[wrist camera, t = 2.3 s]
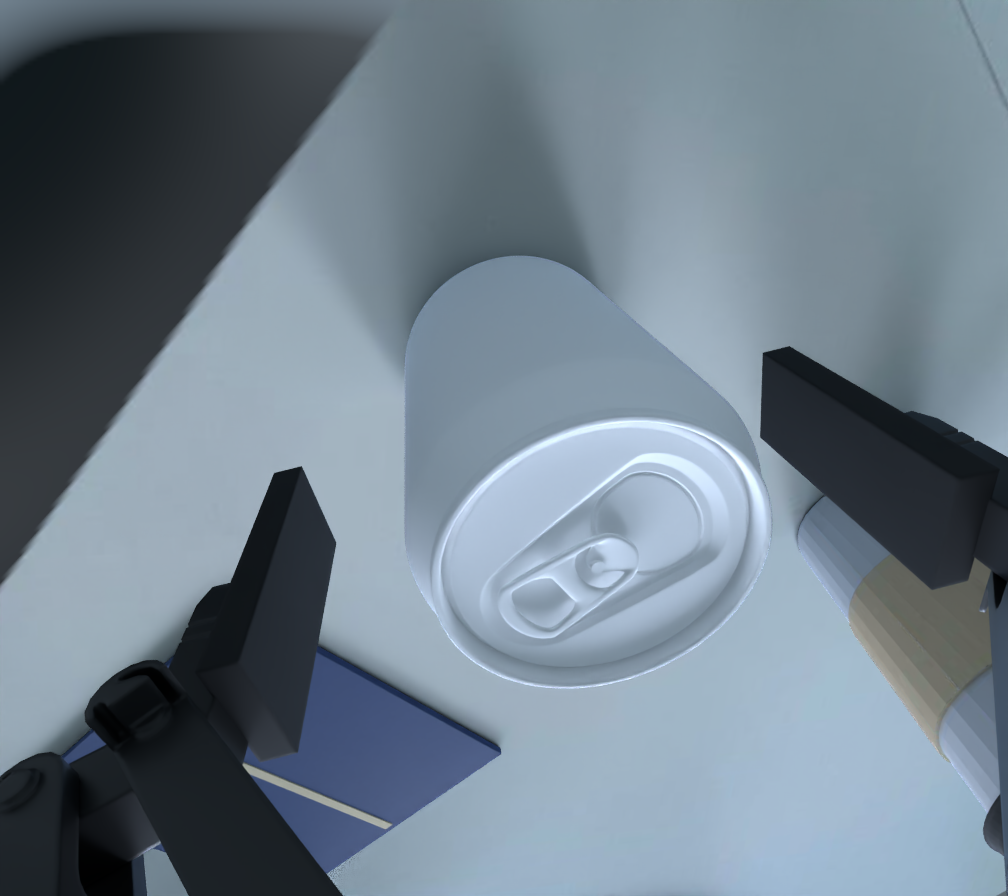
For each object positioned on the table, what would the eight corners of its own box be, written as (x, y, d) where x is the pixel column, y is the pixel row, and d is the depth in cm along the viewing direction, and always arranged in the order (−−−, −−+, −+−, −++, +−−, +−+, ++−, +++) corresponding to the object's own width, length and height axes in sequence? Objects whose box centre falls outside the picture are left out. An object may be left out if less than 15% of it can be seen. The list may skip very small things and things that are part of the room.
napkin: (15, 797, 30) (10, 806, 29) (235, 599, 26) (233, 607, 25) (299, 886, 38) (297, 894, 38) (500, 747, 34) (501, 755, 33)
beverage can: (650, 373, 23) (847, 574, 13) (491, 486, 25) (554, 747, 14) (537, 200, 19) (689, 289, 9) (358, 348, 21) (312, 567, 11)
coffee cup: (852, 609, 32) (1147, 933, 19) (725, 566, 29) (977, 918, 16) (979, 477, 29) (1446, 766, 16) (850, 411, 26) (1303, 705, 13)
